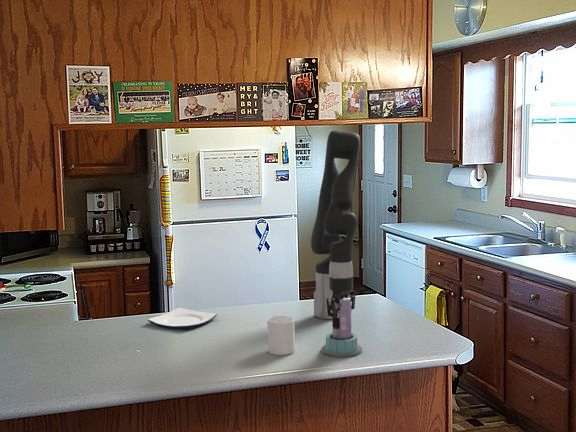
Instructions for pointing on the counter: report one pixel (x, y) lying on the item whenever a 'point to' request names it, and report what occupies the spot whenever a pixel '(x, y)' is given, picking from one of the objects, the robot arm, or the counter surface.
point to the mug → (281, 335)
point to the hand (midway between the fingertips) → (341, 326)
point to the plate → (182, 319)
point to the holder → (341, 347)
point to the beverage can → (344, 321)
